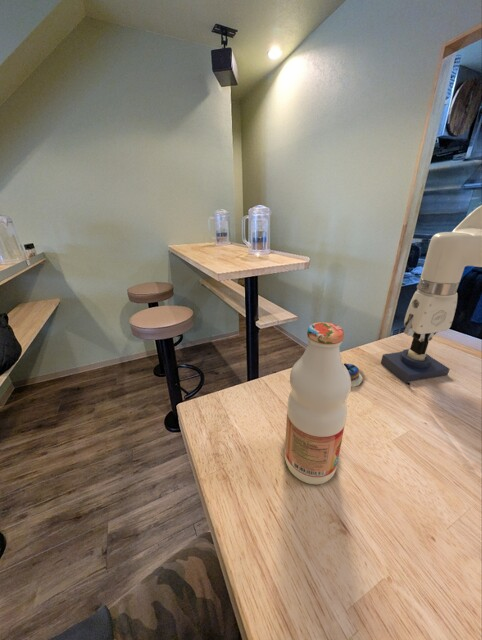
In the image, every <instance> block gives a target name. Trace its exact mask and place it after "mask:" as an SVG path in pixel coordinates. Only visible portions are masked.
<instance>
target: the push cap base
mask: <svg viewBox="0 0 482 640" xmlns="http://www.w3.org/2000/svg"><path fill="white" fill-rule="evenodd" d="M409 349H410V348H406V349H403V350H401V351H397V352H392V353H384V354H382V356H381V360H380V365H382V366H383V367H384V368H385V369H386V370H387V371H389V372H390V373H391V374H392V375H394V376H395V377H396V378H397V379H399V380H400V381H401V382H402V383H403V384H405V386H410V385H411V383H410V382H416V381H423V380H427V379H433V378H439V377H446V376H448V375H449V372H450V370H451V368H449V367H448V366H447V365H445V364H444V363H441V362H440V361H438V360H437V359H435V358H433V356H431V355H429V354H428V353H426V357H425V360H423V361H419V360H414V359H412V358H410V357H408V356H407V355H408V351H409Z"/></svg>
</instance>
